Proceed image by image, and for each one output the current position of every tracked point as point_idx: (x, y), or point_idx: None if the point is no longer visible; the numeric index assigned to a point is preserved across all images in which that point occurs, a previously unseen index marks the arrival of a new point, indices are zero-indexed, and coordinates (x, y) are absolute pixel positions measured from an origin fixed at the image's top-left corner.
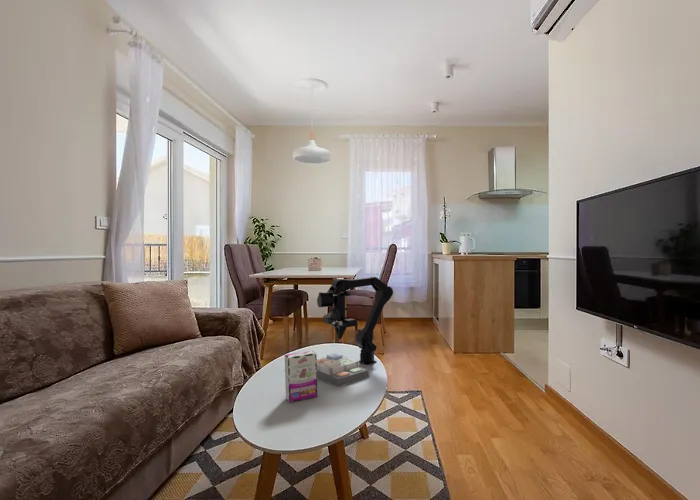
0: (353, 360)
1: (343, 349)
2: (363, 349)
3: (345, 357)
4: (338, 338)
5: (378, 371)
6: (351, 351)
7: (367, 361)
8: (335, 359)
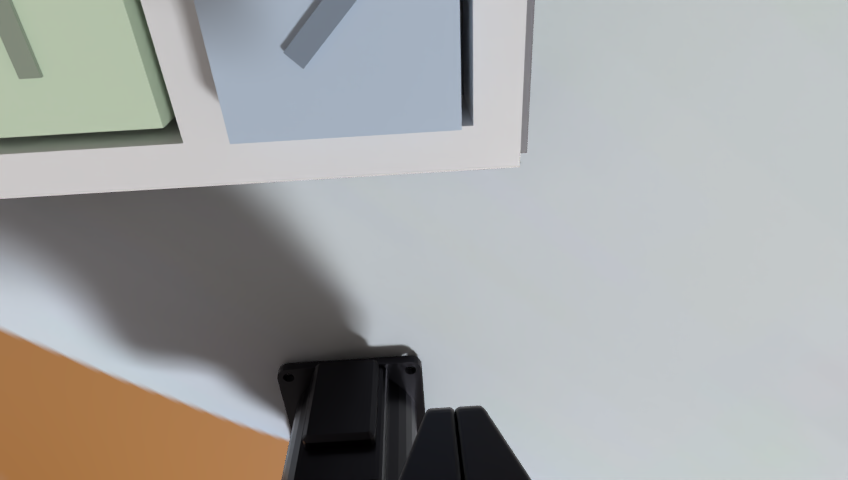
0: (4, 178)
1: (842, 461)
2: None
3: (245, 180)
4: (473, 413)
5: (40, 330)
6: (730, 474)
7: (305, 400)
8: None
